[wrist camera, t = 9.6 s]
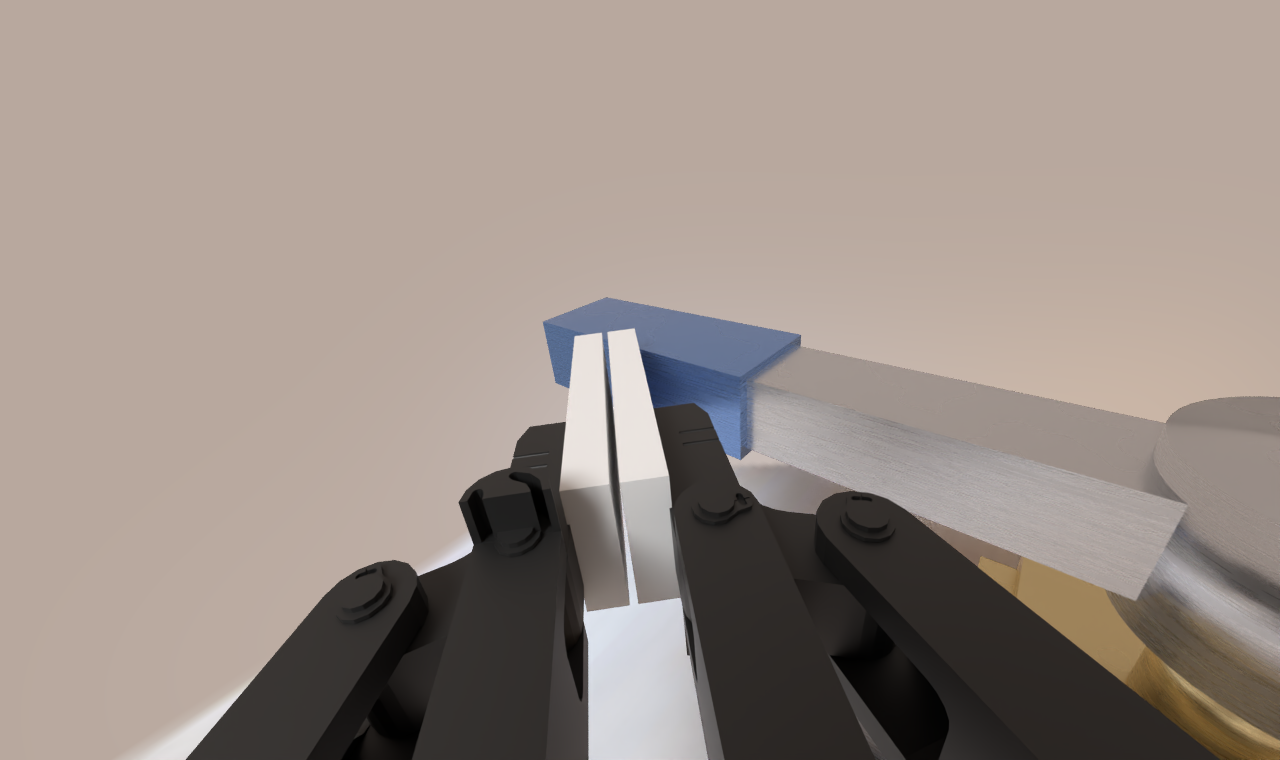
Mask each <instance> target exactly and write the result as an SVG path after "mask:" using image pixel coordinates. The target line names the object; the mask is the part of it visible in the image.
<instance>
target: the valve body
mask: <svg viewBox="0 0 1280 760" xmlns="http://www.w3.org/2000/svg"><path fill="white" fill-rule="evenodd" d="M978 568H980V569H981V570H982V571H983V572H985V573H986V574H987V575H988V576H990V577H991V578H992V579H993V580H995V581H996V582H997V583H998V584H1000V585H1001V586H1002V587H1004V588H1005V589H1006V590H1007V591H1009V592H1010V593H1011V594H1012V595H1014V596H1015V597H1016V598H1017V599H1019V600H1020V601H1021V602H1022V603H1024V604H1025V605H1026V606H1027V607H1029V608H1030V609H1031V610H1032V611H1034V612H1035V613H1036V614H1037V615H1039V616H1040V617H1041V618H1043V619H1044V620H1045V621H1046V622H1048V623H1049V624H1050V625H1051V626H1053V627H1054V628H1055V629H1056V630H1058V631H1059V632H1060V633H1061V634H1063V635H1064V636H1065V637H1066V638H1068V639H1069V640H1070V641H1071V642H1073V643H1074V644H1075V645H1077V646H1078V647H1079V648H1080V649H1082V650H1083V651H1084V652H1085V653H1087V654H1088V655H1089V656H1090V657H1092V658H1093V659H1094V660H1095V661H1097V662H1098V663H1099V664H1100V665H1102V666H1103V667H1104V668H1105V669H1107V670H1108V671H1109V672H1111V673H1112V674H1113V675H1114V676H1116V677H1117V678H1118V679H1119V680H1121V681H1122V682H1123V683H1124V684H1126V685H1127V686H1128V687H1129V688H1131V689H1132V690H1133V691H1134V692H1136V693H1137V694H1138V695H1139V696H1141V697H1142V698H1143V699H1145V700H1146V701H1147V702H1148V703H1150V704H1151V705H1152V706H1153V707H1155V708H1156V709H1157V710H1158V711H1160V712H1161V713H1162V714H1163V715H1165V716H1166V717H1167V718H1168V719H1170V720H1171V721H1172V722H1173V723H1175V724H1176V725H1177V726H1179V727H1180V728H1181V729H1182V730H1184V731H1185V732H1186V733H1187V734H1189V735H1190V736H1191V737H1192V738H1194V739H1195V740H1196V741H1197V742H1199V743H1200V744H1201V745H1202V746H1204V747H1205V748H1206V749H1207V750H1209V751H1210V752H1211V753H1213V754H1214V755H1215V756H1216V757H1218V758H1219V759H1220V760H1280V741H1279V740H1277V739H1276V738H1274V737H1272V736H1270V735H1268V734H1267V733H1265V732H1263V731H1261V730H1260V729H1258V728H1256V727H1254V726H1252V725H1251V724H1249V723H1248V722H1246V721H1244V720H1243V719H1241V718H1240V717H1238V716H1237V715H1235V714H1233V713H1232V712H1230V711H1229V710H1227V709H1225V708H1224V707H1222V706H1221V705H1219V704H1218V703H1216V702H1215V701H1214V700H1212V699H1211V698H1209V697H1208V696H1206V695H1205V694H1204V693H1202V692H1201V691H1199V690H1198V689H1197V688H1195V687H1194V686H1192V685H1191V684H1190V683H1189V682H1187V681H1186V680H1185V679H1184V678H1182V677H1181V676H1180V675H1179V674H1177V673H1176V672H1175V671H1174V670H1172V669H1171V668H1170V667H1168V666H1167V665H1166V664H1165V663H1164V662H1163V661H1162V660H1161V659H1160V658H1159V657H1157V656H1156V655H1155V654H1154V653H1153V652H1152V651H1151V650H1150V649H1149V648H1148V647H1147V646H1146V645H1145V644H1144V643H1143V642H1142V641H1141V640H1140V639H1139V638H1138V637H1137V636H1136V635H1135V634H1134V633H1133V632H1132V631H1131V629H1130V628H1129V627H1128V626H1127V624H1126V623H1125V622H1124V621H1123V619H1122V618H1121V617H1120V615H1119V614H1118V612H1117V611H1116V609H1115V608H1114V606H1113V605H1112V603H1111V601H1110V600H1109V597H1108V595H1107V593H1106V591H1105V589H1104V588H1101V587H1099V586H1096V585H1094V584H1091V583H1089V582H1086V581H1083V580H1081V579H1078V578H1076V577H1073V576H1071V575H1068V574H1066V573H1063V572H1061V571H1058V570H1056V569H1053V568H1050V567H1048V566H1045V565H1043V564H1040V563H1038V562H1035V561H1033V560H1030V559H1028V558H1025V557H1023V556H1021V558H1020V561H1019V564H1018V567H1017V569H1014V568H1012V567H1009V566H1006V565H1003V564H1001V563H998V562H995V561H993V560H990V559H987V558H985V557H982V556H981V557H980V560H979V563H978ZM856 718H857V717H856ZM857 720H858V718H857ZM858 722H859V724H860V726H861V729H862V731H863V733H864V735H865V737H866V740H867V742H868V744H869V746H870V748H871V751H872V753H873V755H874V757H875V759H876V760H886V759H885V757H884V756H883V754H882V753H881V751H880V750H879V749H878V747H877V746H876V744H875V743H874V741H873V740H872V739H871V737H870V736H869V734H868V733H867V731H866V730H865V729H864V727H863V726H862V724H861V723H860V721H859V720H858Z"/></svg>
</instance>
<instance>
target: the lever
mask: <svg viewBox="0 0 1280 760" xmlns="http://www.w3.org/2000/svg"><path fill="white" fill-rule="evenodd" d="M543 325H544V329H545V334H546V339H547V344H548V348H549V353H550V358H551V362H552V367H553V372H554V377H555V381H556V383H558V384H560V385H562V386H565V387H567V388H570V378H571V368H572V358H573V348H574V338H575V336H580V335H588V334H595V333H602V337H603V344H604V350H605V357H606V364H607V370H608V377H609V383H610V390H611V397H612V403H613V395H612V382H611V370H610V358H609V345H608V333H607V332H611V331H618V330H626V329H634V328H635V333H636V337H637V341H638V346H639V350H640V354H641V358H642V363H643V367H644V371H645V375H646V380H647V384H648V388H649V392H650V397H651V401H652V405H653V408H659V407H667V406H674V405H681V404H689V403H695V404H696V405H697V406H699V407H700V408H702V409H703V410H704V411H706V412H707V413H708V414H709V417H710V419H711V421H712V424H713V426H714V429H715V430H716V433H717V435H718V437H719V441H720V442H721V444H722V446H723V449H724V451H725V453H726V454H728V455H730V456H732V457H735V458H737V459H739V460H741V459H742V458H743V457H744V456H746V455H747V454H748V453H749V452H750V451H751V450H753V451H756V452H758V453H761V454H763V455H766V456H768V457H771V458H774V459H776V460H779V461H781V462H784V463H786V464H789V465H791V466H794V467H796V468H799V469H802V470H804V471H807V472H809V473H812V474H814V475H817V476H819V477H822V478H824V479H827V480H829V481H832V482H835V483H837V484H840V485H842V486H845V487H847V488H850V489H852V490H855V491H857V492H866V493H871V494H874V495H878V496H881V497H884V498H887V499H889V500H891V501H892V502H894V503H896V504H897V505H899V506H901V507H902V508H904V509H905V510H907V511H908V512H911V513H913V514H916V515H918V516H921V517H923V518H926V519H929V520H931V521H934V522H936V523H939V524H941V525H944V526H946V527H949V528H951V529H954V530H956V531H959V532H962V533H964V534H967V535H969V536H972V537H974V538H977V539H979V540H982V541H984V542H987V543H989V544H992V545H995V546H997V547H1000V548H1002V549H1005V550H1007V551H1010V552H1012V553H1015V554H1017V555H1020V556H1023V557H1025V558H1028V559H1030V560H1033V561H1035V562H1038V563H1040V564H1043V565H1045V566H1048V567H1050V568H1053V569H1056V570H1058V571H1061V572H1063V573H1066V574H1068V575H1071V576H1073V577H1076V578H1078V579H1081V580H1083V581H1086V582H1089V583H1091V584H1094V585H1096V586H1099V587H1101V588H1104V589H1105V591H1106V593H1107V595H1108V597H1109V600H1110V601H1111V603H1112V605H1113V606H1114V608H1115V609H1116V611H1117V612H1118V614H1119V615H1120V617H1121V618H1122V619H1123V621H1124V622H1125V623H1126V624H1127V626H1128V627H1129V628H1130V629H1131V631H1132V632H1133V633H1134V634H1135V635H1136V636H1137V637H1138V638H1139V639H1140V640H1141V641H1142V642H1143V643H1144V644H1145V645H1146V646H1147V647H1148V648H1149V649H1150V650H1151V651H1152V652H1153V653H1154V654H1155V655H1156V656H1157V657H1159V658H1160V659H1161V660H1162V661H1163V662H1164V663H1165V664H1166V665H1167V666H1168V667H1170V668H1171V669H1172V670H1174V671H1175V672H1176V673H1177V674H1179V675H1180V676H1181V677H1182V678H1184V679H1185V680H1186V681H1187V682H1189V683H1190V684H1191V685H1192V686H1194V687H1195V688H1197V689H1198V690H1199V691H1201V692H1202V693H1204V694H1205V695H1206V696H1208V697H1209V698H1211V699H1212V700H1214V701H1215V702H1216V703H1218V704H1219V705H1221V706H1222V707H1224V708H1225V709H1227V710H1229V711H1230V712H1232V713H1233V714H1235V715H1237V716H1238V717H1240V718H1241V719H1243V720H1244V721H1246V722H1248V723H1249V724H1251V725H1252V726H1254V727H1256V728H1258V729H1260V730H1261V731H1263V732H1265V733H1267V734H1268V735H1270V736H1272V737H1274V738H1276V739H1277V740H1279V741H1280V397H1229V398H1218V399H1211V400H1204V401H1201V402H1196V403H1193V404H1190V405H1187V406H1184V407H1182V408H1180V409H1178V410H1177V411H1176V412H1174V413H1173V414H1172V415H1171V416H1170V417H1169V419H1168V420H1167V422H1166V423H1161V422H1157V421H1152V420H1147V419H1142V418H1138V417H1133V416H1128V415H1123V414H1119V413H1114V412H1109V411H1104V410H1100V409H1095V408H1090V407H1085V406H1080V405H1076V404H1071V403H1066V402H1062V401H1057V400H1052V399H1047V398H1042V397H1038V396H1033V395H1028V394H1023V393H1019V392H1014V391H1009V390H1004V389H1000V388H995V387H990V386H985V385H981V384H976V383H971V382H967V381H962V380H957V379H952V378H947V377H942V376H938V375H933V374H929V373H924V372H919V371H914V370H910V369H905V368H900V367H895V366H890V365H886V364H880V363H876V362H872V361H867V360H862V359H857V358H852V357H847V356H843V355H838V354H834V353H829V352H824V351H819V350H814V349H810V348H805V347H800V344H801V335H799V334H793V333H788V332H783V331H778V330H773V329H767V328H762V327H757V326H752V325H747V324H742V323H736V322H731V321H726V320H720V319H716V318H710V317H705V316H699V315H695V314H689V313H684V312H679V311H674V310H669V309H663V308H659V307H654V306H648V305H643V304H638V303H633V302H628V301H622V300H617V299H612V298H603V299H601V300H598V301H596V302H593V303H590V304H588V305H585V306H583V307H580V308H578V309H575V310H572V311H570V312H567V313H564V314H562V315H559V316H557V317H554V318H551V319H549V320H546V321H544V322H543Z"/></svg>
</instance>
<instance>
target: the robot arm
mask: <svg viewBox="0 0 1280 760" xmlns="http://www.w3.org/2000/svg"><path fill="white" fill-rule="evenodd" d="M607 333H608V345H609V358H610V370H611V382H612V395H613V403H612V397H611V390H610V383H609V377H608V370H607V364H606V357H605V350H604V344H603V337H602V333H595V334H588V335H580V336H575V338H574V348H573V358H572V368H571V378H570V388H569V398H568V409H567V418H566V422H562V423H555V424H547V425H541V426H533V427H529V429H528V430H527V431H526V432H525V433H524V434H523V435H522V436H521V438H520V439H519V440H518V441H517V444H516V448H515V452H514V456H513V457H514V459H513V460H512V463H511V467H510V468H508V469H504V470H500V471H496V472H494V473H492V474H490V475H488V476H486V477H484V478H481V479H480V480H478V481H477V482H476V483H474V484H473V485H472V486H471V487H470V488H469V489H467V490H466V491H465V493H464V495H463V496H462V498H461V499H460V501H459V505H460V508H461V511H462V513H463V516H464V519H465V522H466V524H467V527H468V530H469V533H470V536H471V538H472V541H473V544H474V546H473V549H472V552H471V553H469V554H468V555H466V556H465V557H463V558H461V559H459V560H457V561H455V562H453V563H450V564H448V565H445V566H443V567H440V568H438V569H435V570H433V571H430V572H428V573H425V574H423V575H420V576H417V573H416V572H415V571H414V569H413V568H412V567H411V566H410V565H409V564H408V563H404V562H400V561H396V560H392V561H384V562H377V563H374V564H372V565H369V566H367V567H364V568H362V569H359V570H357V571H355V572H354V573H352V574H351V575H349V576H347V577H346V578H344V579H343V580H341V581H340V582H339V583H337V584H336V585H335V587H333V588H332V589H331V590H330V591H329V592H328V593H327V594H326V595H325V596H324V597H323V598H322V599H321V600H320V602H319V603H318V604H317V605H316V606H315V607H314V609H313V610H312V611H311V612H310V613H309V615H308V616H307V617H306V618H305V619H304V620H303V622H302V623H301V624H300V625H299V626H298V627H297V629H296V630H295V631H294V632H293V633H292V635H291V636H290V637H289V638H288V639H287V640H286V642H285V643H284V644H283V645H282V646H281V648H280V649H279V650H278V651H277V652H276V653H275V655H274V656H273V657H272V658H271V659H270V661H269V662H268V663H267V664H266V665H265V666H264V668H263V669H262V670H261V671H260V672H259V674H258V675H257V676H256V677H255V678H254V680H253V681H252V682H251V683H250V684H249V685H248V687H247V688H246V689H245V690H244V691H243V693H242V694H241V695H240V696H239V697H238V698H237V700H236V701H235V702H234V703H233V704H232V706H231V707H230V708H229V709H228V710H227V711H226V713H225V714H224V715H223V716H222V717H221V719H220V720H219V721H218V722H217V723H216V724H215V726H214V727H213V728H212V729H211V730H210V732H209V733H208V734H207V735H206V736H205V737H204V739H203V740H202V741H201V742H200V743H199V745H198V746H197V747H196V748H195V749H194V750H193V752H192V753H191V754H190V755H189V756H188V758H187V759H186V760H588V639H587V634H586V630H585V626H584V622H583V614H584V600H585V604H586V608H587V612H588V611H594V610H601V609H608V608H614V607H621V606H627V605H630V602H629V590H628V577H627V565H626V553H625V540H624V528H623V515H622V503H621V495H622V501H623V508H624V514H625V520H626V527H627V533H628V539H629V546H630V552H631V558H632V565H633V571H634V577H635V584H636V590H637V597H638V603H639V604H641V603H648V602H654V601H661V600H667V599H674V598H681V601H682V606H683V615H684V625H685V636H686V646H687V655H690V659H691V665H692V670H693V676H694V682H695V687H696V693H697V698H698V704H699V710H700V715H701V721H702V726H703V732H704V737H705V743H706V749H707V754H708V760H876V759H875V757H874V755H873V753H872V751H871V748H870V746H869V744H868V742H867V740H866V737H865V735H864V733H863V731H862V729H861V726H860V724H859V722H858V720H859V721H860V723H861V724H862V726H863V727H864V729H865V730H866V731H867V733H868V734H869V736H870V737H871V739H872V740H873V741H874V743H875V744H876V746H877V747H878V749H879V750H880V751H881V753H882V754H883V756H884V757H885V759H886V760H1220V759H1219V758H1218V757H1216V756H1215V755H1214V754H1213V753H1211V752H1210V751H1209V750H1207V749H1206V748H1205V747H1204V746H1202V745H1201V744H1200V743H1199V742H1197V741H1196V740H1195V739H1194V738H1192V737H1191V736H1190V735H1189V734H1187V733H1186V732H1185V731H1184V730H1182V729H1181V728H1180V727H1179V726H1177V725H1176V724H1175V723H1173V722H1172V721H1171V720H1170V719H1168V718H1167V717H1166V716H1165V715H1163V714H1162V713H1161V712H1160V711H1158V710H1157V709H1156V708H1155V707H1153V706H1152V705H1151V704H1150V703H1148V702H1147V701H1146V700H1145V699H1143V698H1142V697H1141V696H1139V695H1138V694H1137V693H1136V692H1134V691H1133V690H1132V689H1131V688H1129V687H1128V686H1127V685H1126V684H1124V683H1123V682H1122V681H1121V680H1119V679H1118V678H1117V677H1116V676H1114V675H1113V674H1112V673H1111V672H1109V671H1108V670H1107V669H1105V668H1104V667H1103V666H1102V665H1100V664H1099V663H1098V662H1097V661H1095V660H1094V659H1093V658H1092V657H1090V656H1089V655H1088V654H1087V653H1085V652H1084V651H1083V650H1082V649H1080V648H1079V647H1078V646H1077V645H1075V644H1074V643H1073V642H1071V641H1070V640H1069V639H1068V638H1066V637H1065V636H1064V635H1063V634H1061V633H1060V632H1059V631H1058V630H1056V629H1055V628H1054V627H1053V626H1051V625H1050V624H1049V623H1048V622H1046V621H1045V620H1044V619H1043V618H1041V617H1040V616H1039V615H1037V614H1036V613H1035V612H1034V611H1032V610H1031V609H1030V608H1029V607H1027V606H1026V605H1025V604H1024V603H1022V602H1021V601H1020V600H1019V599H1017V598H1016V597H1015V596H1014V595H1012V594H1011V593H1010V592H1009V591H1007V590H1006V589H1005V588H1004V587H1002V586H1001V585H1000V584H998V583H997V582H996V581H995V580H993V579H992V578H991V577H990V576H988V575H987V574H986V573H985V572H983V571H982V570H981V569H980V568H978V567H977V566H976V565H975V564H973V563H972V562H971V561H970V560H968V559H967V558H966V557H964V556H963V555H962V554H961V553H959V552H958V551H957V550H956V549H954V548H953V547H952V546H951V545H949V544H948V543H947V542H946V541H944V540H943V539H942V538H941V537H939V536H938V535H937V534H936V533H934V532H933V531H932V530H930V529H929V528H928V527H927V526H925V525H924V524H923V523H922V522H920V521H919V520H918V519H917V518H915V517H914V516H913V515H912V514H910V513H909V512H908V511H907V510H905V509H904V508H902V507H901V506H899V505H897V504H896V503H894V502H892V501H891V500H889V499H887V498H884V497H881V496H878V495H874V494H871V493H866V492H855V491H849V492H843V493H837V494H834V495H832V496H830V497H828V498H827V499H825V500H823V501H822V503H821V504H820V506H819V508H818V510H817V513H816V515H814V514H804V513H794V512H786V511H780V510H774V509H772V508H769V507H766V506H763V505H761V504H759V502H758V501H757V499H756V498H755V497H754V495H753V494H752V493H751V492H750V491H748V490H746V489H745V488H743V487H741V486H740V485H739V483H738V481H737V478H736V476H735V474H734V471H733V469H732V467H731V465H730V462H729V460H728V458H727V456H726V453H725V451H724V449H723V446H722V444H721V442H720V441H719V437H718V435H717V433H716V430H715V429H714V426H713V424H712V421H711V419H710V417H709V414H708V413H707V412H706V411H704V410H703V409H702V408H700V407H699V406H697V405H696V404H695V403H689V404H681V405H674V406H667V407H659V408H653V405H652V401H651V397H650V392H649V388H648V384H647V380H646V375H645V371H644V367H643V363H642V358H641V354H640V350H639V346H638V341H637V337H636V333H635V328H634V329H626V330H618V331H611V332H607ZM613 407H614V410H613ZM620 489H621V491H620ZM856 717H857V718H858V720H857V718H856Z"/></svg>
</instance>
